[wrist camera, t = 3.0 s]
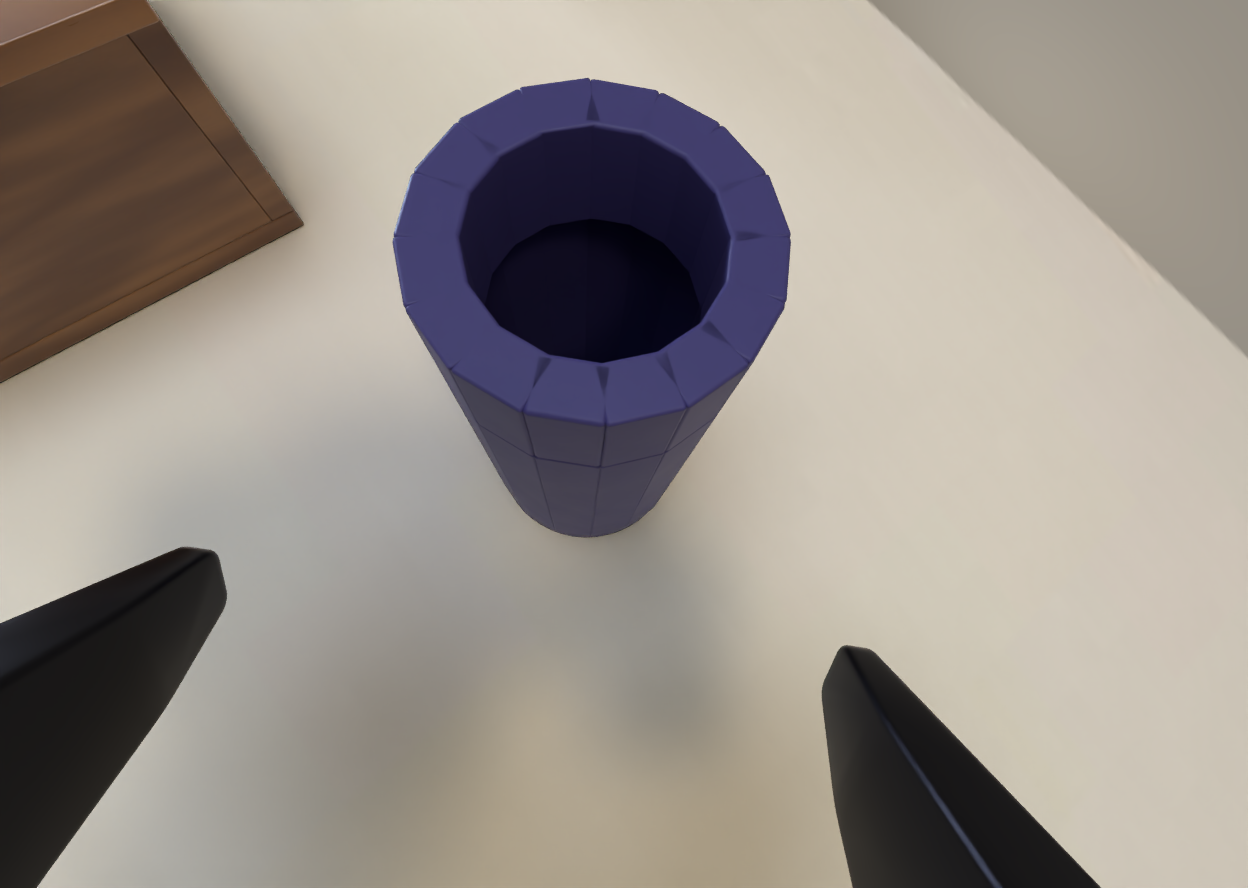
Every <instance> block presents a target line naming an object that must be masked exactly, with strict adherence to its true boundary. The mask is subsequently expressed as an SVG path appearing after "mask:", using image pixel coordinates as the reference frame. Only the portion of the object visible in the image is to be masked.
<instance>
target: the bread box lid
mask: <svg viewBox="0 0 1248 888" xmlns="http://www.w3.org/2000/svg"><path fill="white" fill-rule="evenodd" d="M158 21H159V17H158V16H157V14H156V13H155V11H154V10H153V8H152V7H151V6H150V4H149V3H148V1H147V0H0V87H2V86H4V85H7V84H9V83H11V82H14V81H16V80H19V79H21V78H24V77H26V76H28V75H31V74H33V73H36V72H38V71H40V70H43V69H45V68H48V67H50V66H52V65H55V64H57V63H60V62H62V61H65V60H67V59H69V58H72V57H74V56H77V55H79V54H81V53H84V52H86V51H89V50H91V49H94V48H96V47H98V46H101V45H103V44H106V43H108V42H110V41H113V40H115V39H118V38H120V37H123V36H125V35H127V34H130V33H132V32H135V31H137V30H139V29H142V28H144V27H147V26H149V25H152V24H154V23H156V22H158Z"/></svg>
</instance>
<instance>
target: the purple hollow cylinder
mask: <svg viewBox="0 0 1248 888" xmlns="http://www.w3.org/2000/svg"><path fill="white" fill-rule="evenodd" d="M790 246H791V240H790V230H789V228H788V225H787V222H786V220H785V217H784V214H783V212H782V209H781V206H780V204H779V201H778V198H777V196H776V193H775V190H774V188H773V185H772V182H771V180H770V177H769V175H766V173H765V171H764V170H763V168H762V167H761V166H760V165H759V164H758V163H757V162H756V161H755V160H754V159H753V158H752V156H751V155H750V154H749V153H748V152H747V151H746V150H745V149H744V148H743V147H742V146H741V144H740V143H739V142H738V141H737V140H736V139H735V138H734V137H733V136H732V135H731V134H730V133H729V131H728V130H727V129H726V128H725V127H723V126H720V124H719V123H718V122H717V121H715V120H713V119H711V118H709V117H708V116H706V115H704V114H702V113H700V112H698V111H696V110H694V109H692V108H691V107H689V106H687V105H685V104H683V103H681V102H679V101H677V100H676V99H674V98H672V97H670V96H668V95H666V94H664V93H660V94H659V93H658V91H656V90H652V89H646V88H640V87H635V86H629V85H623V84H618V83H612V82H606V81H601V80H595V79H593V80H591V81H590V79H589V78H584V79H577V80H570V81H563V82H555V83H548V84H541V85H534V86H527V87H521V88H520V90H515V91H513V92H511V93H509V94H507V95H505V96H503V97H501V98H499V99H497V100H495V101H493V102H491V103H489V104H487V105H485V106H483V107H481V108H479V109H477V110H475V111H474V112H472V113H470V114H468V115H466V116H464V117H462V118H460V119H459V123H455V124H454V125H453V126H452V127H451V128H450V129H449V130H448V132H447V133H446V134H445V135H444V136H443V137H442V138H441V140H440V141H439V142H438V143H437V144H436V145H435V146H434V148H433V149H432V150H431V151H430V152H429V153H428V154H427V156H426V157H425V158H424V159H423V160H422V161H421V162H420V164H419V165H418V166H417V167H416V168H415V171H414V174H412V175H411V177H410V181H409V184H408V187H407V191H406V194H405V197H404V201H403V204H402V207H401V211H400V214H399V218H398V221H397V224H396V228H395V231H394V238H393V248H394V253H395V259H396V265H397V271H398V276H399V282H400V288H401V294H402V299H403V305H404V307H405V308H406V312H407V314H408V316H409V318H410V319H411V321H412V323H413V325H414V326H415V328H416V330H417V332H418V333H419V335H420V337H421V339H422V340H423V342H424V344H425V346H426V347H427V349H428V351H429V353H430V354H431V356H432V358H433V360H434V361H435V363H436V365H437V367H438V368H439V370H440V372H441V374H442V375H443V377H444V379H445V381H446V382H447V384H448V386H449V388H450V389H451V391H452V393H453V395H454V396H455V398H456V400H457V402H458V403H459V405H460V407H461V409H462V410H463V412H464V414H465V416H466V417H467V419H468V421H469V423H470V424H471V426H472V428H473V430H474V431H475V433H476V435H477V437H478V438H479V440H480V442H481V444H482V445H483V447H484V449H485V451H486V452H487V454H488V456H489V458H490V459H491V461H492V463H493V465H494V466H495V468H496V470H497V472H498V473H499V475H500V477H501V479H502V480H503V482H504V484H505V486H506V487H507V488H508V490H509V491H510V493H511V494H512V496H513V497H514V499H515V500H516V502H517V503H518V504H519V505H520V507H521V508H522V510H523V511H524V512H525V513H526V514H528V515H529V516H530V517H531V518H532V519H534V520H535V521H537V522H538V523H540V524H541V525H543V526H545V527H547V528H549V529H551V530H553V531H556V532H558V533H561V534H565V535H570V536H576V537H598V536H603V535H608V534H611V533H615V532H618V531H620V530H622V529H624V528H627V527H629V526H630V525H632V524H633V523H635V522H636V521H638V520H639V519H640V518H642V517H643V516H644V515H645V514H646V513H647V512H648V511H650V510H651V509H652V508H653V507H654V506H655V505H656V503H657V502H658V500H659V499H660V498H661V496H662V495H663V493H664V492H665V490H666V489H667V487H668V486H669V484H670V483H671V482H672V480H673V479H674V477H675V476H676V474H677V473H678V471H679V470H680V468H681V467H682V465H683V464H684V463H685V461H686V460H687V458H688V457H689V455H690V454H691V452H692V451H693V449H694V448H695V446H696V445H697V444H698V442H699V441H700V439H701V438H702V436H703V435H704V433H705V432H706V430H707V429H708V428H709V426H710V425H711V423H712V422H713V420H714V419H715V417H716V416H717V414H718V413H719V411H720V410H721V408H722V407H723V405H724V404H725V403H726V401H727V400H728V398H729V397H730V395H731V394H732V392H733V391H734V389H735V388H736V386H737V385H738V384H739V382H740V381H741V379H742V378H743V376H744V375H745V373H746V372H747V370H748V369H749V368H750V366H751V365H752V363H753V362H754V360H755V358H756V356H757V355H758V353H759V351H760V349H761V348H762V346H763V344H764V343H765V341H766V339H767V337H768V336H769V334H770V332H771V330H772V329H773V327H774V325H775V324H776V322H777V320H778V318H779V317H780V315H781V313H782V311H783V310H784V306H785V302H786V300H787V287H788V273H789V259H790Z"/></svg>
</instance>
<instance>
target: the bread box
mask: <svg viewBox="0 0 1248 888" xmlns="http://www.w3.org/2000/svg"><path fill="white" fill-rule="evenodd" d="M147 1H148V0H147ZM148 3H149V2H148ZM149 4H150V3H149ZM150 6H151V5H150ZM151 7H152V6H151ZM152 8H153V7H152ZM153 10H154V9H153ZM154 11H155V10H154ZM155 13H156V12H155ZM156 14H157V13H156ZM157 16H158V15H157ZM158 17H159V16H158ZM302 225H303V222H302V220H301V219H300V217H299V216H298V214H297V213H296V212H295V210H294V209H293V207H292V206H291V204H290V203H289V202H288V200H287V199H286V197H285V196H284V194H283V193H282V192H281V190H280V189H279V187H278V186H277V184H276V183H275V182H274V180H273V179H272V177H271V176H270V174H269V173H268V172H267V170H266V169H265V167H264V166H263V164H262V163H261V162H260V160H259V159H258V157H257V156H256V154H255V153H254V152H253V150H252V149H251V147H250V146H249V145H248V143H247V142H246V140H245V139H244V137H243V136H242V135H241V133H240V132H239V130H238V129H237V127H236V126H235V125H234V123H233V122H232V120H231V119H230V117H229V116H228V115H227V113H226V112H225V110H224V109H223V107H222V106H221V105H220V103H219V102H218V100H217V99H216V97H215V96H214V95H213V93H212V92H211V90H210V89H209V87H208V86H207V85H206V83H205V82H204V80H203V79H202V77H201V76H200V75H199V73H198V72H197V70H196V69H195V67H194V66H193V65H192V63H191V62H190V60H189V59H188V57H187V56H186V55H185V53H184V52H183V50H182V49H181V47H180V46H179V45H178V43H177V42H176V40H175V39H174V37H173V36H172V35H171V33H170V32H169V30H168V29H167V27H166V26H165V25H164V23H163V22H162V20H161V19H160V17H159V21H158V22H156V23H154V24H152V25H149V26H147V27H144V28H142V29H139V30H137V31H135V32H132V33H130V34H127V35H125V36H123V37H120V38H118V39H115V40H113V41H110V42H108V43H106V44H103V45H101V46H98V47H96V48H94V49H91V50H89V51H86V52H84V53H81V54H79V55H77V56H74V57H72V58H69V59H67V60H65V61H62V62H60V63H57V64H55V65H52V66H50V67H48V68H45V69H43V70H40V71H38V72H36V73H33V74H31V75H28V76H26V77H24V78H21V79H19V80H16V81H14V82H11V83H9V84H7V85H4V86H2V87H0V382H2V381H4V380H6V379H8V378H10V377H12V376H14V375H16V374H18V373H19V372H21V371H23V370H25V369H27V368H29V367H31V366H33V365H35V364H37V363H39V362H41V361H43V360H44V359H46V358H48V357H50V356H52V355H54V354H56V353H58V352H60V351H62V350H64V349H66V348H67V347H69V346H71V345H73V344H75V343H77V342H79V341H81V340H83V339H85V338H87V337H89V336H91V335H92V334H94V333H96V332H98V331H100V330H102V329H104V328H106V327H108V326H110V325H112V324H114V323H115V322H117V321H119V320H121V319H123V318H125V317H127V316H129V315H131V314H133V313H135V312H137V311H139V310H140V309H142V308H144V307H146V306H148V305H150V304H152V303H154V302H156V301H158V300H160V299H162V298H163V297H165V296H167V295H169V294H171V293H173V292H175V291H177V290H179V289H181V288H183V287H185V286H187V285H188V284H190V283H192V282H194V281H196V280H198V279H200V278H202V277H204V276H206V275H208V274H210V273H211V272H213V271H215V270H217V269H219V268H221V267H223V266H225V265H227V264H229V263H231V262H233V261H235V260H236V259H238V258H240V257H242V256H244V255H246V254H248V253H250V252H252V251H254V250H256V249H258V248H260V247H261V246H263V245H265V244H267V243H269V242H271V241H273V240H275V239H277V238H279V237H281V236H283V235H284V234H286V233H288V232H290V231H292V230H294V229H296V228H298V227H300V226H302Z"/></svg>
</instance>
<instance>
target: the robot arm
mask: <svg viewBox="0 0 1248 888" xmlns="http://www.w3.org/2000/svg"><path fill="white" fill-rule="evenodd" d="M226 600H227V591H226V586H225V582H224V577H223V573H222V569H221V564H220V560H219V557H218V555H217V554H216V553H215V552H214V551H212V550H208V549H201V548H194V547H180V548H178V549H175V550H173V551H170V552H168V553H165V554H163V555H161V556H158V557H156V558H154V559H151V560H149V561H147V562H144V563H142V564H140V565H137V566H135V567H132V568H130V569H128V570H125V571H123V572H121V573H118V574H116V575H114V576H111V577H109V578H106V579H104V580H102V581H99V582H97V583H95V584H92V585H90V586H88V587H85V588H83V589H80V590H78V591H76V592H73V593H71V594H69V595H66V596H64V597H62V598H59V599H57V600H55V601H52V602H50V603H47V604H45V605H43V606H40V607H38V608H36V609H33V610H31V611H29V612H26V613H24V614H21V615H19V616H17V617H14V618H12V619H10V620H7V621H5V622H3V623H0V888H37V886H38V885H39V884H40V882H41V881H42V879H43V878H44V877H45V875H46V874H47V872H48V871H49V870H50V868H51V867H52V866H53V864H54V863H55V861H56V860H57V859H58V857H59V856H60V854H61V853H62V852H63V850H64V849H65V848H66V846H67V845H68V843H69V842H70V841H71V839H72V838H73V836H74V835H75V834H76V832H77V831H78V830H79V828H80V827H81V825H82V824H83V823H84V821H85V820H86V819H87V817H88V816H89V814H90V813H91V812H92V810H93V809H94V807H95V806H96V805H97V803H98V802H99V801H100V799H101V798H102V796H103V795H104V794H105V792H106V791H107V789H108V788H109V787H110V785H111V784H112V783H113V781H114V780H115V778H116V777H117V776H118V774H119V773H120V771H121V770H122V769H123V767H124V766H125V765H126V763H127V762H128V760H129V759H130V758H131V756H132V755H133V753H134V752H135V751H136V749H137V748H138V747H139V745H140V744H141V742H142V741H143V740H144V738H145V737H146V735H147V734H148V733H149V731H150V730H151V729H152V727H153V726H154V724H155V723H156V721H157V720H158V718H159V717H160V716H161V714H162V713H163V711H164V710H165V708H166V706H167V705H168V703H169V702H170V700H171V698H172V697H173V695H174V694H175V692H176V690H177V689H178V687H179V685H180V683H181V682H182V680H183V678H184V677H185V675H186V673H187V671H188V670H189V668H190V666H191V665H192V663H193V661H194V660H195V658H196V656H197V654H198V653H199V651H200V649H201V648H202V646H203V644H204V642H205V641H206V639H207V637H208V636H209V634H210V632H211V630H212V629H213V627H214V625H215V624H216V622H217V620H218V619H219V617H220V615H221V613H222V612H223V609H224V607H225V604H226ZM822 704H823V713H824V721H825V730H826V738H827V746H828V755H829V763H830V772H831V780H832V788H833V795H834V802H835V808H836V813H837V818H838V823H839V828H840V832H841V837H842V841H843V846H844V850H845V855H846V859H847V864H848V868H849V873H850V877H851V882H852V886H853V888H1101V887H1100V886H1099V885H1098V884H1097V883H1096V882H1095V881H1094V880H1093V879H1092V878H1091V877H1090V876H1089V875H1088V874H1087V873H1086V871H1085V870H1084V869H1083V868H1082V867H1081V866H1080V865H1079V864H1078V863H1077V862H1076V861H1075V860H1074V859H1073V858H1072V857H1071V856H1070V855H1069V854H1068V853H1067V852H1066V851H1065V850H1064V849H1063V848H1062V847H1061V846H1060V844H1059V843H1058V842H1057V841H1056V840H1055V839H1054V838H1053V837H1052V836H1051V835H1050V834H1049V833H1048V832H1047V831H1046V830H1045V829H1044V828H1043V827H1042V826H1041V825H1040V824H1039V823H1038V822H1037V821H1036V820H1035V818H1034V817H1033V816H1032V815H1031V814H1030V813H1029V812H1028V811H1027V810H1026V809H1025V808H1024V807H1023V806H1022V805H1021V804H1020V803H1019V802H1018V801H1017V800H1016V799H1015V798H1014V797H1013V796H1012V795H1011V794H1010V793H1009V791H1008V790H1007V789H1006V788H1005V787H1004V786H1003V785H1002V784H1001V783H1000V782H999V781H998V780H997V779H996V778H995V777H994V776H993V775H992V774H991V773H990V772H989V771H988V770H987V769H986V768H985V767H984V766H983V764H982V763H981V762H980V761H979V760H978V759H977V758H976V757H975V756H974V755H973V754H972V753H971V752H970V751H969V750H968V749H967V748H966V747H965V746H964V745H963V744H962V743H961V742H960V741H959V740H958V738H957V737H956V736H955V735H954V734H953V733H952V732H951V731H950V730H949V729H948V728H947V727H946V726H945V725H944V724H943V723H942V722H941V721H940V720H939V719H938V718H937V717H936V716H935V715H934V714H933V713H932V711H931V710H930V709H929V708H928V707H927V706H926V705H925V704H924V703H923V702H922V701H921V700H920V699H919V698H918V697H917V696H916V695H915V694H914V693H913V692H912V691H911V690H910V689H909V688H908V687H907V685H906V684H905V683H904V682H903V681H902V680H901V679H900V678H899V677H898V676H897V675H896V674H895V673H894V672H893V671H892V670H891V669H890V668H889V667H888V666H887V665H886V664H885V663H884V662H883V661H882V660H881V658H880V657H879V656H878V655H877V654H876V653H874V652H873V651H872V650H870V649H867V648H861V647H855V646H848V645H846V646H842V647H841V648H840V649H839V650H838V652H837V654H836V656H835V658H834V661H833V663H832V665H831V667H830V669H829V671H828V673H827V676H826V678H825V680H824V683H823V687H822Z"/></svg>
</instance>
